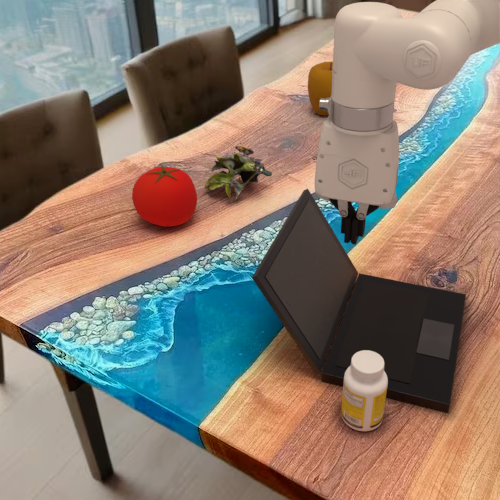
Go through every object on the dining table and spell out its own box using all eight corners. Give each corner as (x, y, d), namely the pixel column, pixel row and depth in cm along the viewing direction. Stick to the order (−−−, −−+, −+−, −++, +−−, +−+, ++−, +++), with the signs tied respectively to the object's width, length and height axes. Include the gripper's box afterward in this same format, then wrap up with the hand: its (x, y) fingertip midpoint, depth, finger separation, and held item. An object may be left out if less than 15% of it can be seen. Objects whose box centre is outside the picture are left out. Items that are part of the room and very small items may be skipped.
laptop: (464, 302, 102) (466, 293, 101) (448, 413, 84) (450, 404, 83) (358, 280, 107) (359, 272, 106) (320, 381, 89) (321, 372, 88)
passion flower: (245, 206, 138) (279, 163, 133) (238, 225, 128) (274, 179, 123) (202, 175, 136) (234, 130, 131) (191, 191, 126) (226, 144, 121)
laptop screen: (308, 188, 101) (303, 190, 101) (256, 275, 82) (251, 277, 83) (359, 273, 106) (354, 274, 107) (321, 372, 88) (315, 374, 88)
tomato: (209, 210, 126) (206, 162, 120) (181, 241, 117) (177, 191, 111) (155, 199, 130) (150, 152, 124) (125, 229, 121) (117, 179, 115)
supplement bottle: (378, 400, 86) (386, 345, 80) (386, 432, 81) (394, 377, 76) (338, 400, 86) (343, 346, 80) (343, 433, 81) (348, 378, 76)
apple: (345, 123, 159) (349, 72, 152) (302, 119, 162) (304, 68, 155) (351, 106, 168) (355, 57, 161) (310, 102, 171) (312, 54, 163)
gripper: (293, 116, 77) (292, 243, 88) (420, 131, 73) (402, 263, 83) (310, 94, 83) (307, 216, 94) (428, 107, 79) (411, 233, 89)
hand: (352, 238), depth 88 cm, fingers closed
